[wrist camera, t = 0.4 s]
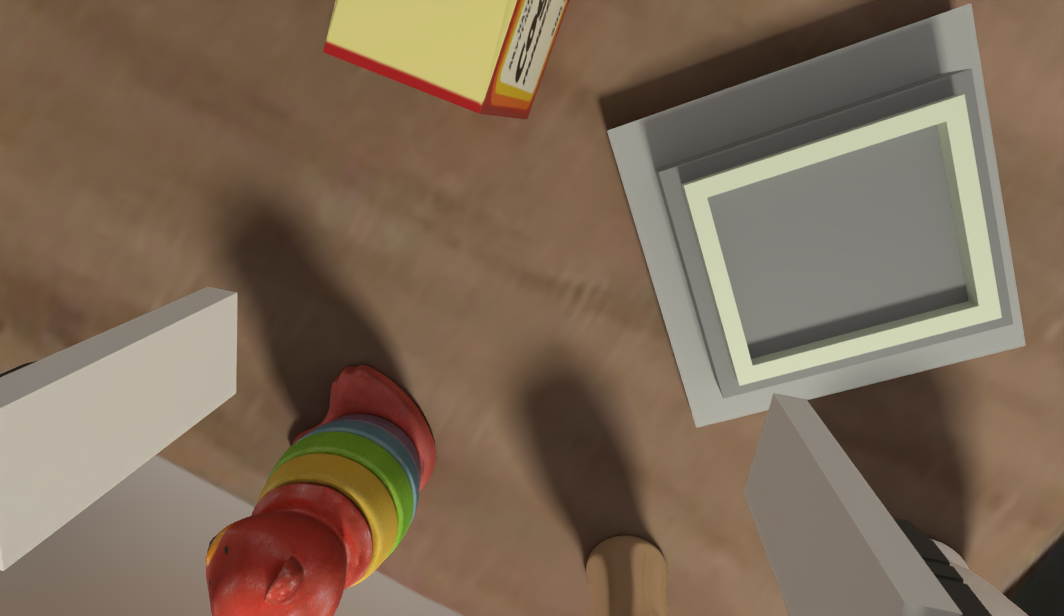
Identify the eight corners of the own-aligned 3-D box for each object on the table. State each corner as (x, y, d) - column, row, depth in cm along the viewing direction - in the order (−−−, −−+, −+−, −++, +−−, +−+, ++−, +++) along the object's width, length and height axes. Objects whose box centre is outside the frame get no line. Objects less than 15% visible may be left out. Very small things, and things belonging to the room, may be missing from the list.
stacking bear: (353, 351, 45) (201, 487, 28) (469, 431, 46) (389, 612, 29) (283, 456, 48) (108, 636, 31) (392, 530, 49) (279, 745, 32)
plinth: (606, 130, 39) (607, 131, 33) (950, 10, 35) (1019, -14, 29) (692, 414, 43) (705, 458, 38) (1005, 334, 40) (1073, 370, 34)
